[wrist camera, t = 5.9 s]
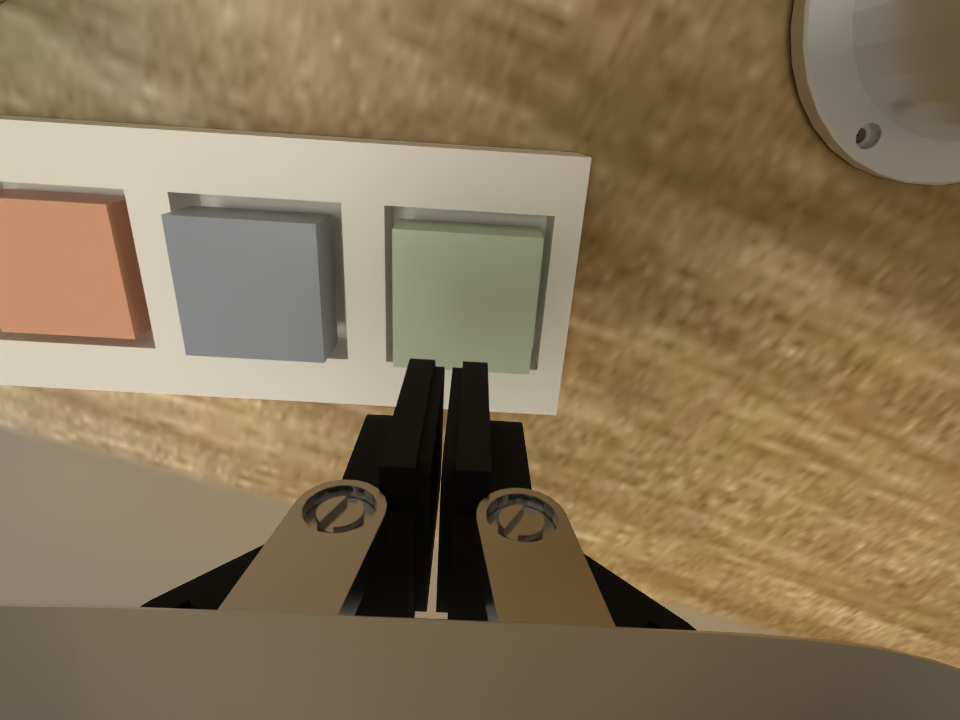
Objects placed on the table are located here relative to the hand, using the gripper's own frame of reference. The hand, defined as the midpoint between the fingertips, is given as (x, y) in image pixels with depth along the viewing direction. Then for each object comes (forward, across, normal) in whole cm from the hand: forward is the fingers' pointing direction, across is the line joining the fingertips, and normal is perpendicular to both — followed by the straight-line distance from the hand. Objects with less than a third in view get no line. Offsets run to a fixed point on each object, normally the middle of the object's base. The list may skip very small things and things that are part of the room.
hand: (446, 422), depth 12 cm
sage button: (+10, 0, 0) cm, 10 cm away
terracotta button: (+11, +15, 0) cm, 18 cm away
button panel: (+12, +7, 0) cm, 14 cm away
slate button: (+10, +7, 0) cm, 12 cm away
